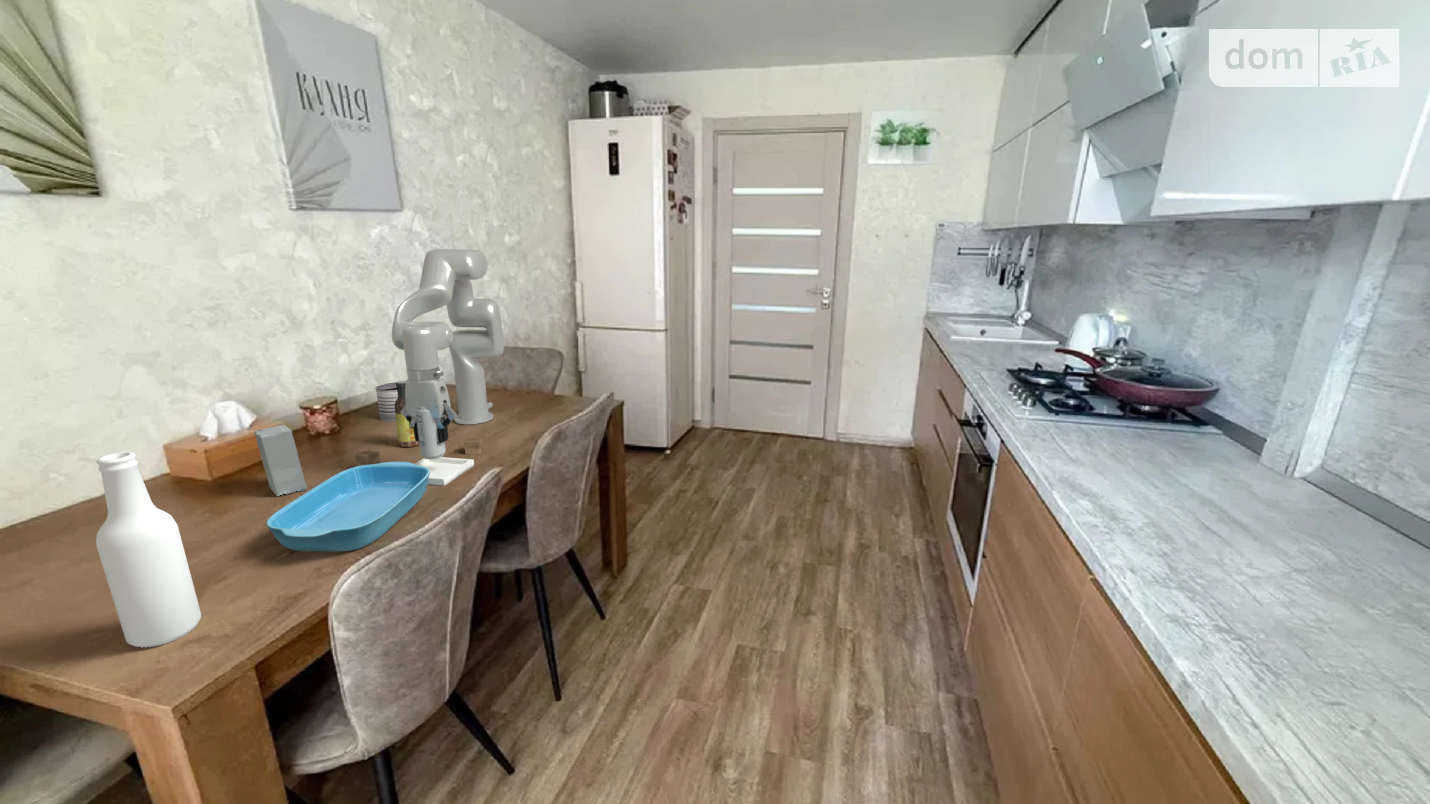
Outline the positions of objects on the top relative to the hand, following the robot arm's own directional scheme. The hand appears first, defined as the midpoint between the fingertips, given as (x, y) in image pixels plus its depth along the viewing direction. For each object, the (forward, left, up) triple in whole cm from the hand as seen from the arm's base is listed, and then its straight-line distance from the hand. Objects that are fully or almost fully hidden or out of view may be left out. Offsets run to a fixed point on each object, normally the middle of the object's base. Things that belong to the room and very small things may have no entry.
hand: (431, 439), depth 150 cm
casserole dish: (+27, 0, -10) cm, 29 cm away
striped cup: (-44, -44, -10) cm, 63 cm away
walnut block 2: (-17, +1, -10) cm, 20 cm away
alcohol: (+66, -3, -10) cm, 67 cm away
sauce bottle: (-19, -21, -10) cm, 30 cm away
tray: (0, 0, -10) cm, 10 cm away
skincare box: (+16, -30, -10) cm, 35 cm away
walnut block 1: (+1, -19, -10) cm, 21 cm away
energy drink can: (0, 0, -5) cm, 5 cm away
